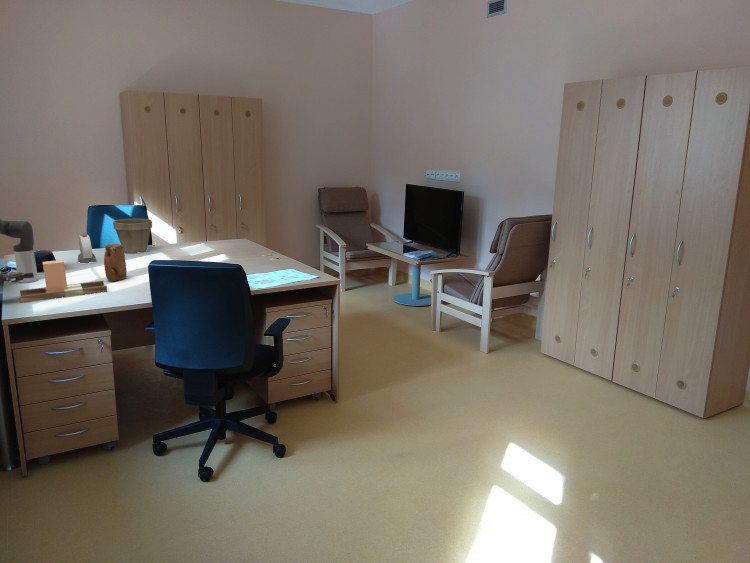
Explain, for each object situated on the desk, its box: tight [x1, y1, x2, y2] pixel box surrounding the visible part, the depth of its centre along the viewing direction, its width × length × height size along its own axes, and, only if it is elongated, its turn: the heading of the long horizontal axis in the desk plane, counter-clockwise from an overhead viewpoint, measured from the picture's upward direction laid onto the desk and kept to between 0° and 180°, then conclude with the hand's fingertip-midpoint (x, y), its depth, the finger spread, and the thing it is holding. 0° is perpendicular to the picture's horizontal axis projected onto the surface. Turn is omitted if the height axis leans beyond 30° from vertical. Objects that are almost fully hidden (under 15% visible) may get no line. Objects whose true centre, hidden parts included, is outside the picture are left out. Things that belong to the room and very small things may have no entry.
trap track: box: [19, 280, 108, 304], centre depth 283 cm, size 14×38×3 cm, turn 122°
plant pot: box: [112, 218, 153, 254], centre depth 386 cm, size 25×25×22 cm
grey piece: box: [77, 233, 97, 263], centre depth 353 cm, size 16×10×18 cm, turn 34°
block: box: [103, 243, 127, 282], centre depth 309 cm, size 11×8×20 cm
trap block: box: [42, 259, 68, 292], centre depth 279 cm, size 6×9×14 cm, turn 122°
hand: (33, 275), depth 274 cm, fingers closed
